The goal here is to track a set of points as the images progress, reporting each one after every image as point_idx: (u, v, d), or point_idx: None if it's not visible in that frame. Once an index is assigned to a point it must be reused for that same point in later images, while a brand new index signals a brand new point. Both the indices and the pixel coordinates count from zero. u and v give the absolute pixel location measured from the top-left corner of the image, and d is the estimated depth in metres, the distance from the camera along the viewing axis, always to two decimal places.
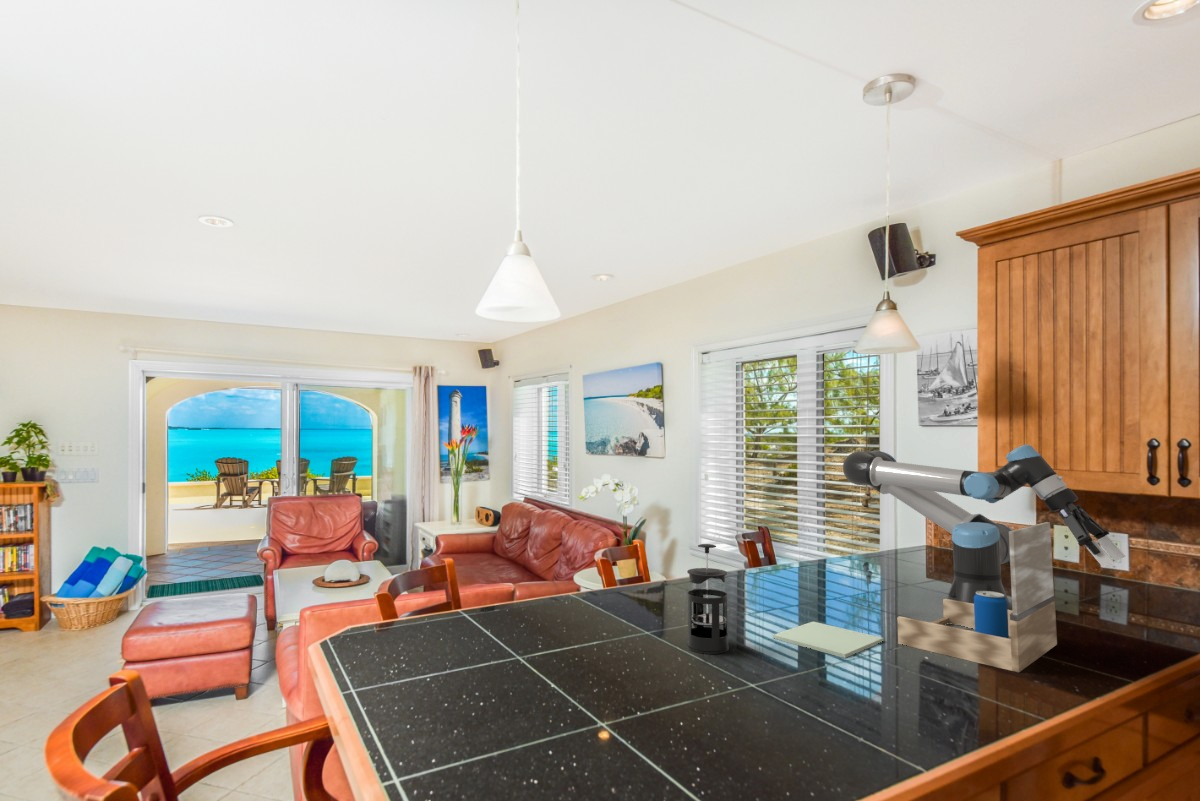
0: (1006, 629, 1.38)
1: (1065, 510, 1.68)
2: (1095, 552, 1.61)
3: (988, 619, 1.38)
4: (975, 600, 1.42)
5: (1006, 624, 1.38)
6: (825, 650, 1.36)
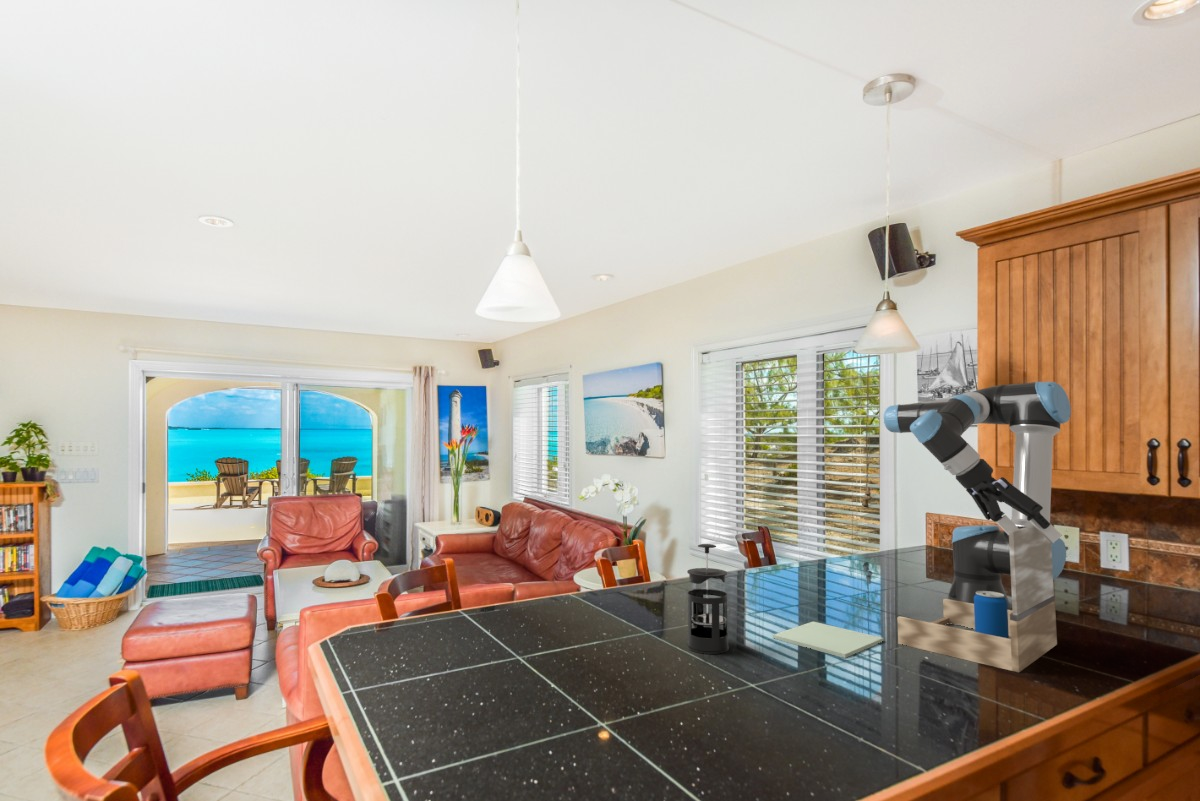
0: (1006, 629, 1.38)
1: None
2: None
3: (988, 619, 1.38)
4: (975, 600, 1.42)
5: (1006, 624, 1.38)
6: (825, 650, 1.36)
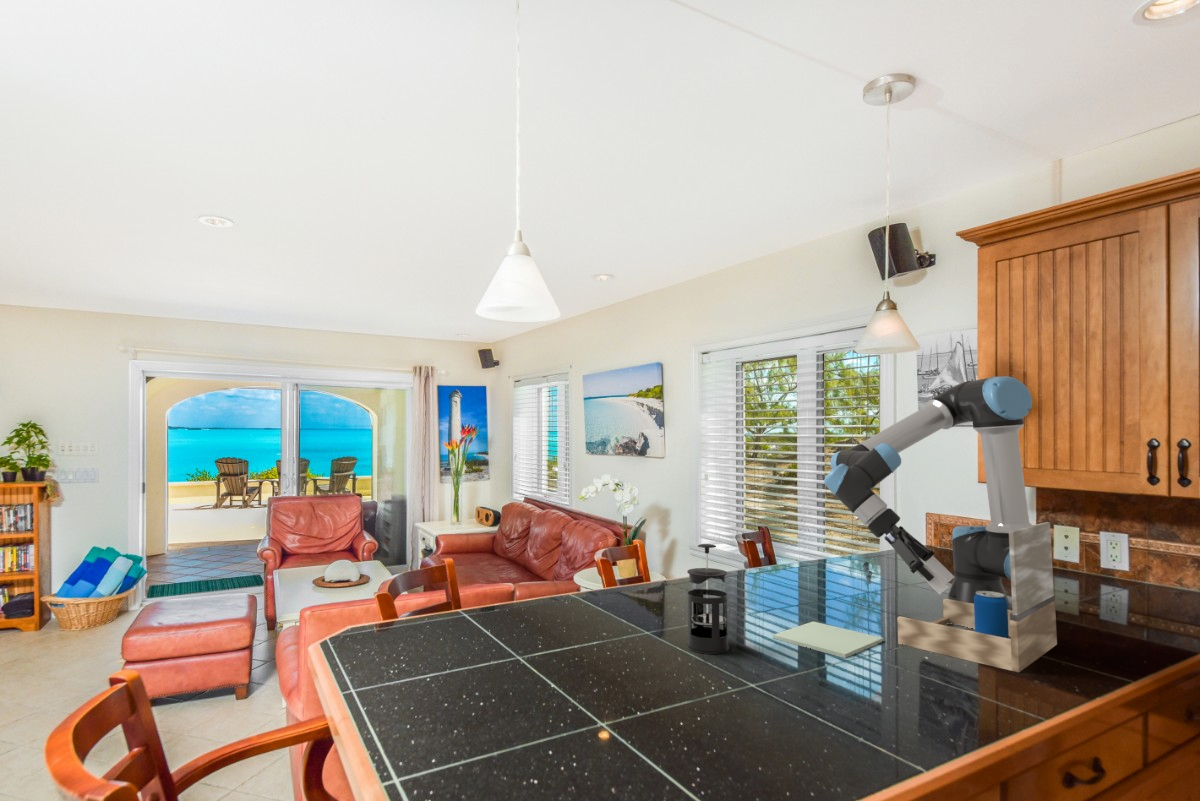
0: (1006, 629, 1.38)
1: None
2: None
3: (988, 619, 1.38)
4: (975, 600, 1.42)
5: (1006, 624, 1.38)
6: (825, 650, 1.36)
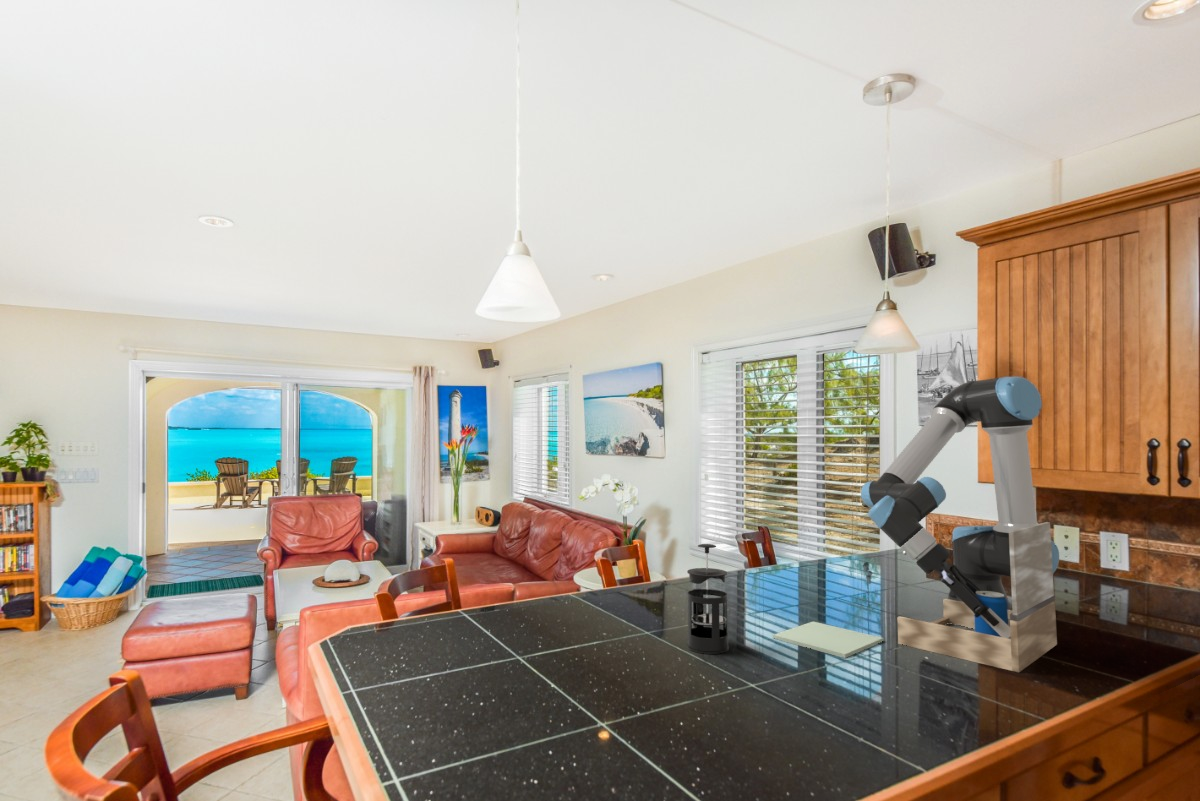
0: None
1: None
2: None
3: None
4: None
5: None
6: (825, 650, 1.36)
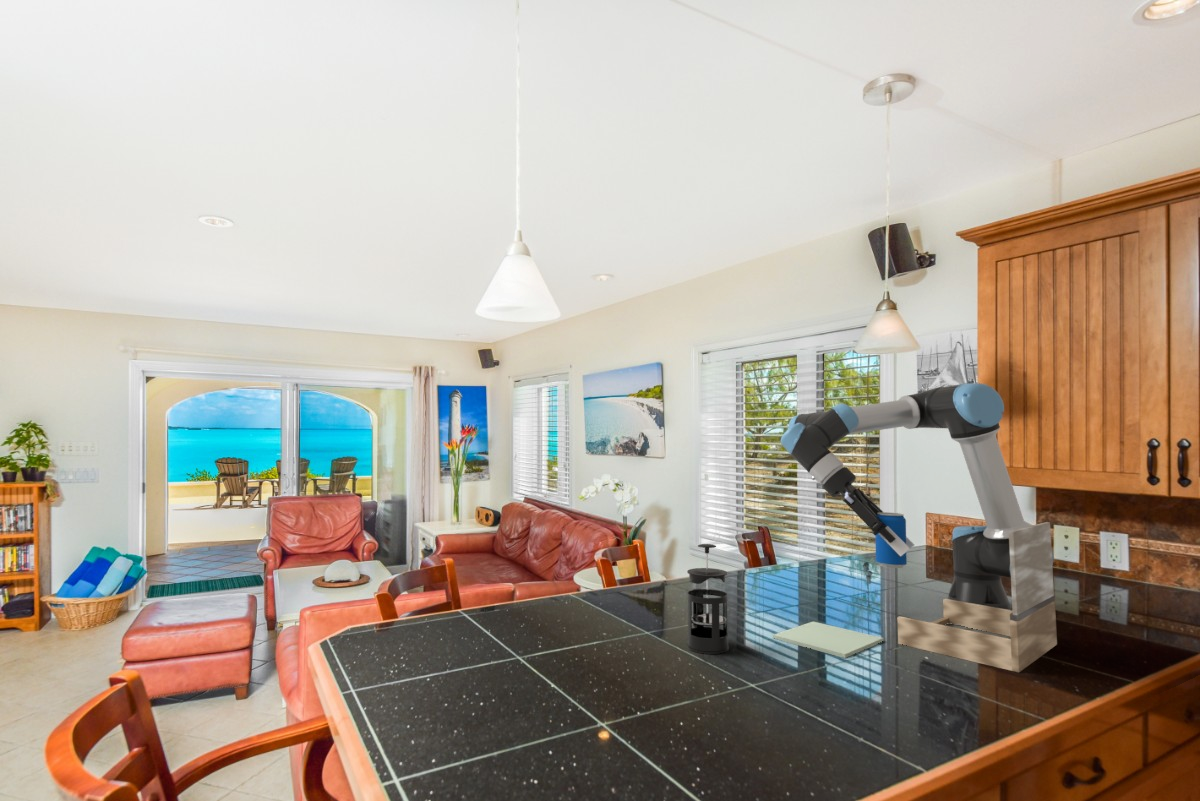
0: None
1: None
2: None
3: None
4: None
5: None
6: (825, 650, 1.36)
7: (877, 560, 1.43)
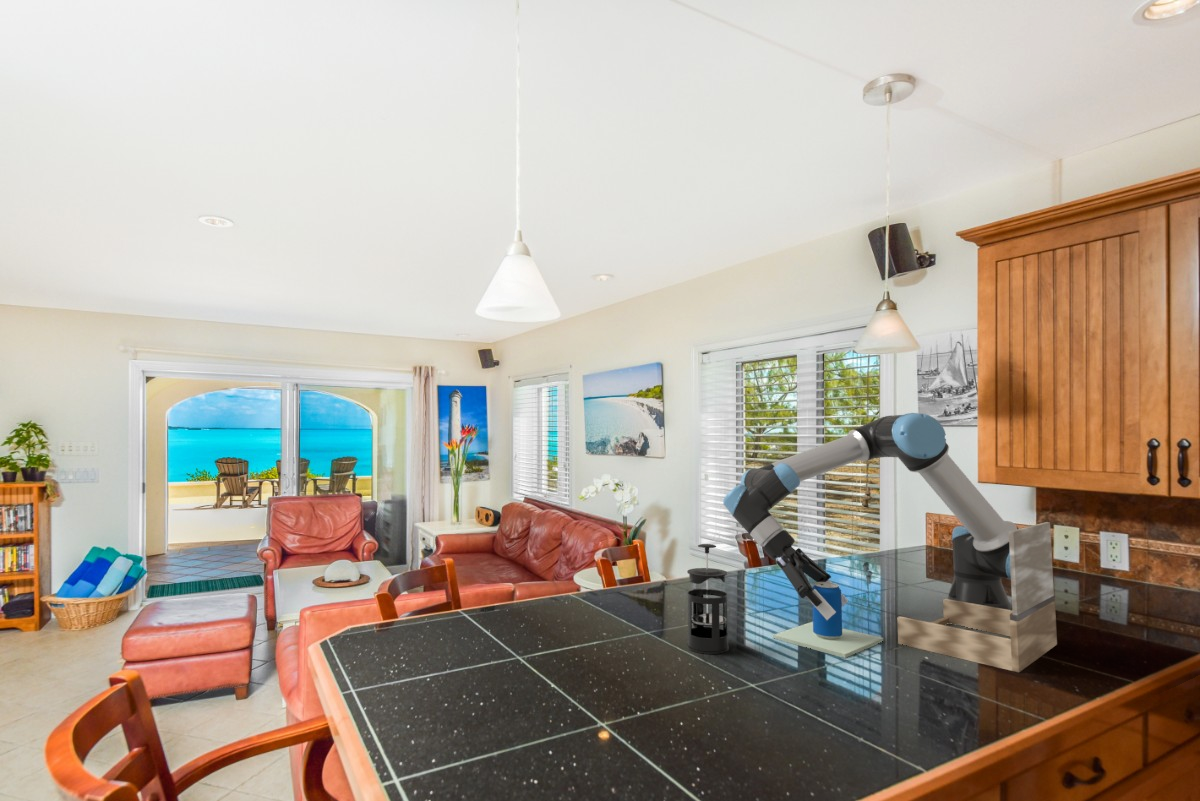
0: (838, 618, 1.43)
1: None
2: None
3: None
4: None
5: (838, 613, 1.43)
6: (825, 650, 1.36)
7: (814, 631, 1.45)
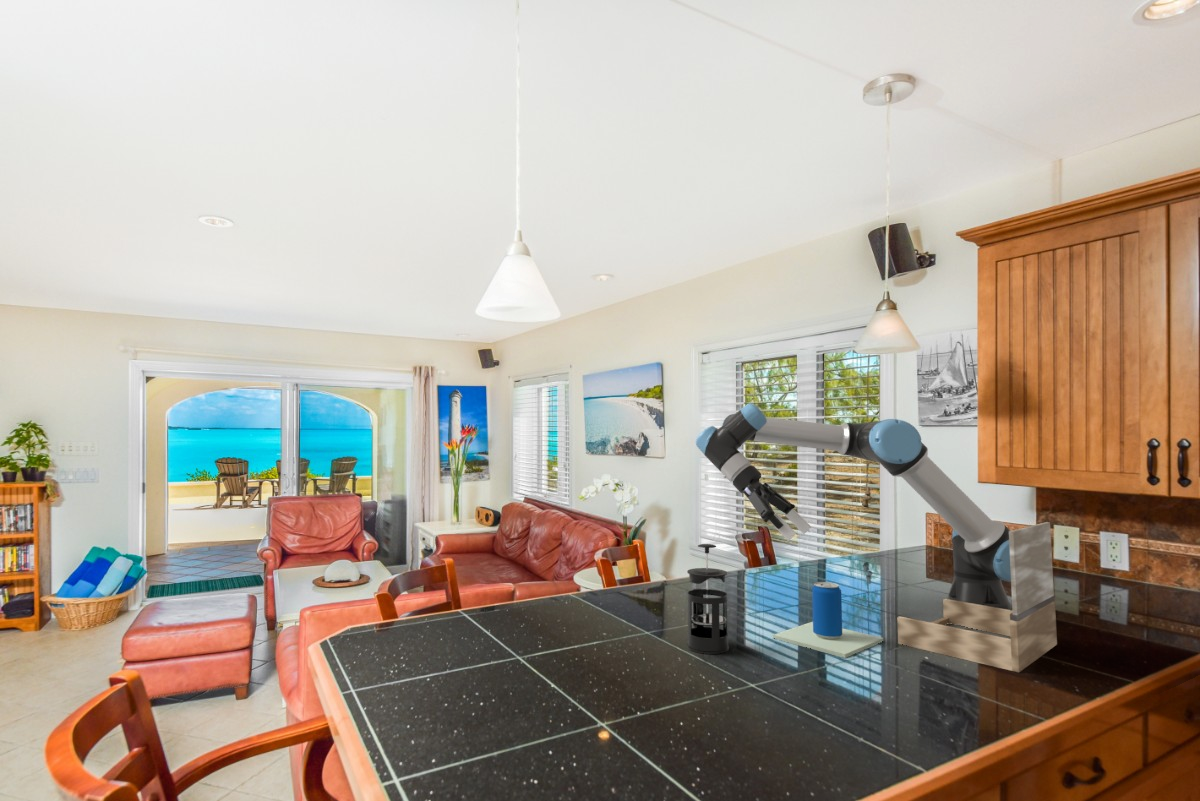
0: (838, 618, 1.43)
1: None
2: None
3: (822, 609, 1.43)
4: (812, 591, 1.47)
5: (838, 613, 1.43)
6: (825, 650, 1.36)
7: (814, 631, 1.45)
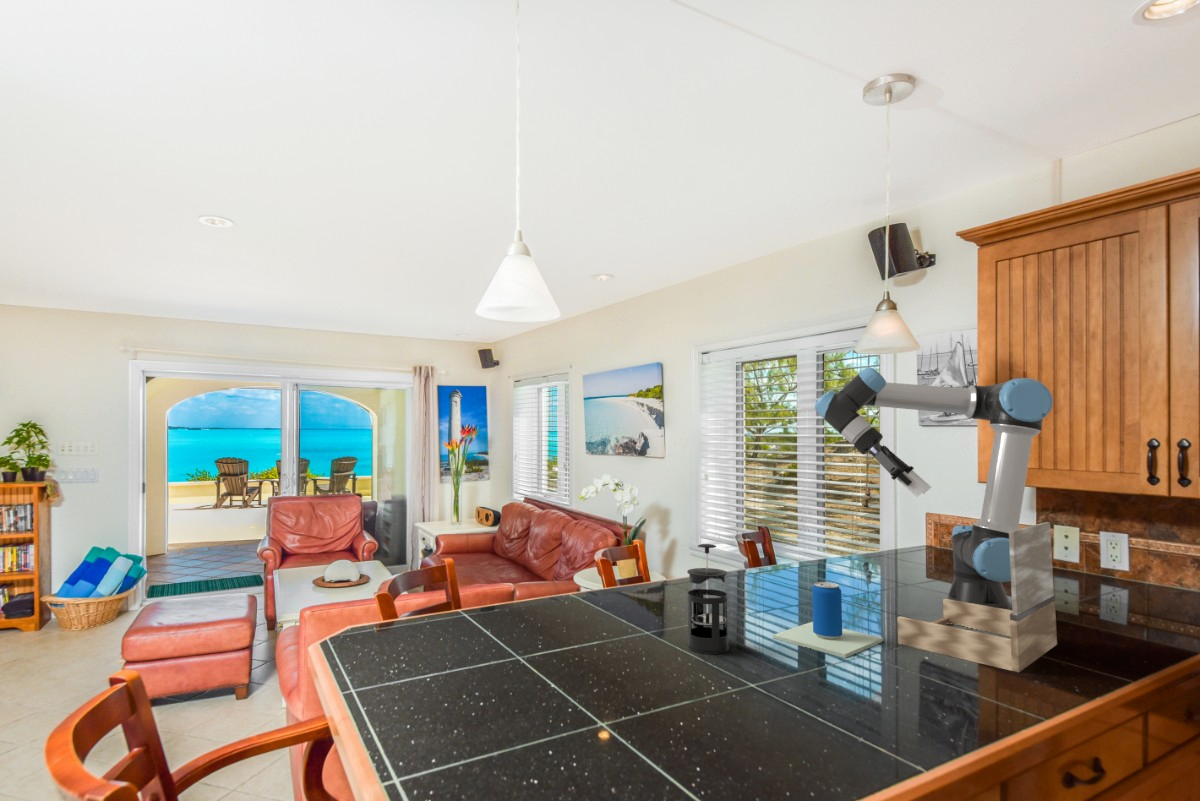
0: (838, 618, 1.43)
1: None
2: None
3: (822, 609, 1.43)
4: (812, 591, 1.47)
5: (838, 613, 1.43)
6: (825, 650, 1.36)
7: (814, 631, 1.45)
